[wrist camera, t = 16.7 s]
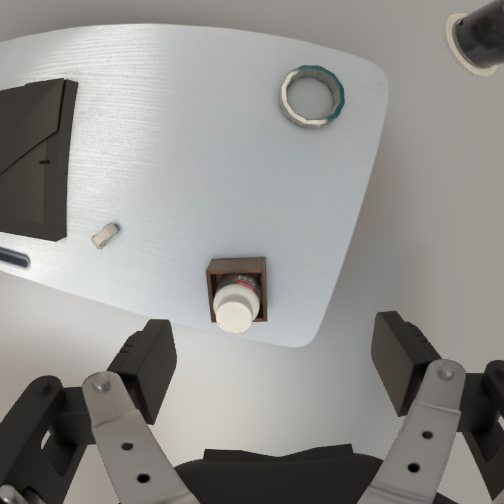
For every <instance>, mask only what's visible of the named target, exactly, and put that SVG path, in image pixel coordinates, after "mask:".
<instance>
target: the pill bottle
mask: <svg viewBox="0 0 504 504" xmlns="http://www.w3.org/2000/svg"><path fill="white" fill-rule="evenodd" d="M259 307H260V281H259V278H258V276H257V275H256V273H235V274H223V276H222V278H221V281H220V283H219V286H218V289H217V292H216V295H215V298H214V302H213V309H214V312H215V315H216V321H217V323H218V325H219V326H220V327H221V328H222V329H223V330H224V331H226V332H229V333H241V332H243V331H245V330H247V329H248V328H249V326H250V325H251V323H252V321H253V320H254V319H255V318H256V316H257V314H258V312H259Z"/></svg>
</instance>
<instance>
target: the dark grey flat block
mask: <svg viewBox="0 0 504 504" xmlns="http://www.w3.org/2000/svg"><path fill="white" fill-rule="evenodd" d="M77 86H78V83H77V82H74V81H71V80H68V79H67V80H64V78H60V79H53V80H46V81H40V82H34V83H28V84H26V85H25V86H21V87H16V88H11V89H6V90H1V91H0V232H5V233H10V234H15V235H21V236H26V237H32V238H38V239H43V240H49V241H54V242H56V241H58V240H60V239H62V238H64V237H66V195H67V172H68V158H69V146H70V136H71V127H72V119H73V112H74V105H75V98H76V92H77Z"/></svg>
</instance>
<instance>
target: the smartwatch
mask: <svg viewBox="0 0 504 504" xmlns="http://www.w3.org/2000/svg"><path fill="white" fill-rule="evenodd" d="M117 233H118V230H117V228H116V227H115V226H114V224H108V225H107V226H105V227H104V229H103V230H102V231H101V232H99V233H98V234H96V235H94V236H92V237H91V240H92V242H93V243H94V245H95V246H96V248H97V249H102V247H104V246H105V245H106V242H107V241H108V240H109V239H110V238H111V237H112V236H114V235H115V234H117Z"/></svg>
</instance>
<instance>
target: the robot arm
mask: <svg viewBox="0 0 504 504" xmlns="http://www.w3.org/2000/svg"><path fill="white" fill-rule="evenodd" d="M452 36H453V40H454V43H455V45H456V47H457V49H458V51H459V53H460V54H461V55H462V57H463V58H464V59H465V60H466V61H467V62H468V63H470V64H471V65H472V66H474V67H476V68H479V69H487V68H490V67H492V66H495V65H499V64H502V63H504V0H495V1H492V2H491V3H489V4H487V5H485V6H483V7H482V8H480V9H478V10H476V11H475V12H473V13H471V14H469V15H467V16H466V17H465V16H463V17H462V18H461V19H459V20H457V21H456V22H455V23H454V25H453V28H452ZM371 356H372V360H373V363H374V365H375V367H376V369H377V371H378V373H379V376H380V378H381V380H382V382H383V384H384V386H385V389H386V391H387V393H388V395H389V397H390V400H391V402H392V404H393V406H394V409H395V411H396V413H397V415H398V417H401V416H405V415H407V416H406V418H405V420H404V422H403V425H402V427H401V429H400V431H399V433H398V435H397V437H396V439H395V441H394V443H393V445H392V447H391V449H390V450H389V452H388V454H387V456H386V458H385V460H382V459H379V458H376V457H373V456H369V455H365V454H358V453H353V449H352V445H351V444H344V445H336V446H326V447H316V448H312V449H309V450H305V451H302V452H298V453H294V454H290V455H286V456H282V457H274V456H268V455H262V454H257V453H252V452H247V451H242V450H215V449H205V451H204V457H203V459H198V460H193V461H189V462H186V463H183V464H180V465H178V466H176V467H174V468H173V467H172V465H171V463H170V462H169V460H168V459H167V457H166V455H165V454H164V452H163V451H162V449H161V447H160V446H159V444H158V443H157V441H156V439H155V437H154V436H153V434H152V432H151V431H150V429H149V427H148V425H147V424H150V425H154V423H155V421H156V418H157V415H158V413H159V410H160V407H161V405H162V402H163V399H164V397H165V394H166V391H167V389H168V386H169V384H170V381H171V378H172V376H173V373H174V371H175V368H176V363H177V354H176V349H175V344H174V339H173V334H172V328H171V323H170V321H169V320H164V319H150V320H149V321H148V323H147V324H146V326H145V327H144V329H143V330H142V331H137V332H136V333H134V334H133V335H131V336H130V337H129V338H128V339H127V340H126V342H125V343H124V345H123V347H122V348H121V350H120V351H119V353H118V354H117V355H116V357H115V358H114V360H113V361H112V363H111V364H110V366H109V367H108V369H107V370H106V371H103V372H98V373H95V374H92V375H90V376H89V377H88V378H86V380H84V382H83V384H82V387H68V388H63V386H62V383H61V381H60V379H58V378H57V377H55V376H50V375H49V376H42V377H39V378H37V379H35V380H33V381H32V382H31V383H30V384H29V385H28V387H27V388H26V389H25V391H24V392H23V393H22V394H21V396H20V397H19V398H18V400H17V401H16V402H15V404H14V405H13V407H12V408H11V409H10V411H9V412H8V414H7V415H6V416H5V417H4V419H3V421H2V422H1V423H0V504H63V501H64V499H65V496H66V494H67V492H68V489H69V487H70V484H71V482H72V480H73V477H74V475H75V472H76V470H77V468H78V466H79V463H80V461H81V459H82V456H83V454H84V452H85V449H86V447H87V445H90V444H97V447H98V450H99V452H100V455H101V458H102V460H103V463H104V466H105V468H106V470H107V473H108V475H109V478H110V480H111V482H112V485H113V487H114V490H115V492H116V494H117V496H118V499H119V501H120V503H119V504H458V503H456V502H454V501H452V500H451V499H449V498H447V497H445V496H443V495H442V494H440V493H438V492H437V489H438V486H439V484H440V481H441V479H442V476H443V473H444V470H445V467H446V464H447V461H448V458H449V455H450V451H451V449H452V445H453V441H454V438H455V435H456V432H462V434H463V436H464V438H465V440H466V442H467V444H468V446H469V449H470V451H471V453H472V455H473V457H474V459H475V462H476V464H477V466H478V468H479V470H480V473H481V475H482V477H483V480H484V482H485V484H486V487H487V489H488V492H489V494H490V496H491V499H492V504H504V430H503V428H502V427H501V425H500V423H499V422H498V419H499V417H500V416H502V417H503V419H504V361H502V360H495V361H491V362H490V363H488V364H487V366H486V369H485V371H484V373H466V371H465V369H464V368H463V366H461V365H460V364H459V363H457V362H455V361H452V360H448V359H442V358H441V357H440V355H439V354H438V353H437V352H436V350H435V349H434V347H433V346H432V345H431V343H430V342H428V340H427V338H426V337H425V336H424V335H423V333H422V332H421V331H420V329H419V328H418V327H416V326H415V325H413V324H411V323H410V322H404V320H403V319H402V318H401V316H400V315H399V314H398V313H397V311H387V312H378V313H377V314H376V318H375V324H374V332H373V339H372V345H371ZM47 431H49V433H50V436H49V438H48V440H47V442H46V444H45V445H44V447H43V449H42V450H41V442H42V439H43V437H44V436H45V434H46V432H47Z"/></svg>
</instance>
